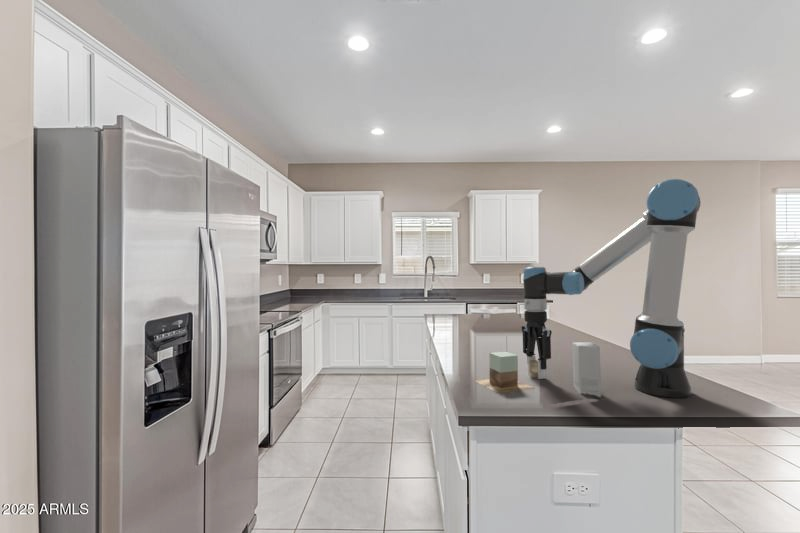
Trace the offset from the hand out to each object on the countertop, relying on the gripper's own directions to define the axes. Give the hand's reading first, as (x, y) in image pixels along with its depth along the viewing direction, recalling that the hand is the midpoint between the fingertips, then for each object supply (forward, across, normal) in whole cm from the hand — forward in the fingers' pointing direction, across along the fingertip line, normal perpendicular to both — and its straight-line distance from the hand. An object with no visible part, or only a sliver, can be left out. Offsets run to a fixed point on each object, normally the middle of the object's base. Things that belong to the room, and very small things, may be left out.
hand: (537, 376), depth 139 cm
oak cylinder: (+1, 0, 0) cm, 1 cm away
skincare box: (+2, +18, +5) cm, 18 cm away
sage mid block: (-5, +4, -16) cm, 17 cm away
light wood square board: (+1, +4, -16) cm, 17 cm away
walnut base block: (0, +4, -16) cm, 17 cm away
